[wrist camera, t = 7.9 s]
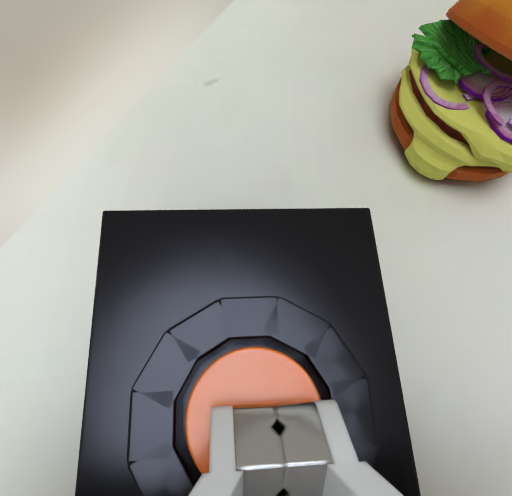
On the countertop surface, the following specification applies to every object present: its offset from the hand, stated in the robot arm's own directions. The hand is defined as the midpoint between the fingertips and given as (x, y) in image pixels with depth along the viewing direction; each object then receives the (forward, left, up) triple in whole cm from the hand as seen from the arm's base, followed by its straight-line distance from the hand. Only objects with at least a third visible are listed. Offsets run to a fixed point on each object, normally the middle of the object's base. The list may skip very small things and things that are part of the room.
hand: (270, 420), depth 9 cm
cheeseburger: (+15, -17, -10) cm, 25 cm away
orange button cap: (0, 0, -3) cm, 3 cm away
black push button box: (+2, 0, -10) cm, 10 cm away
